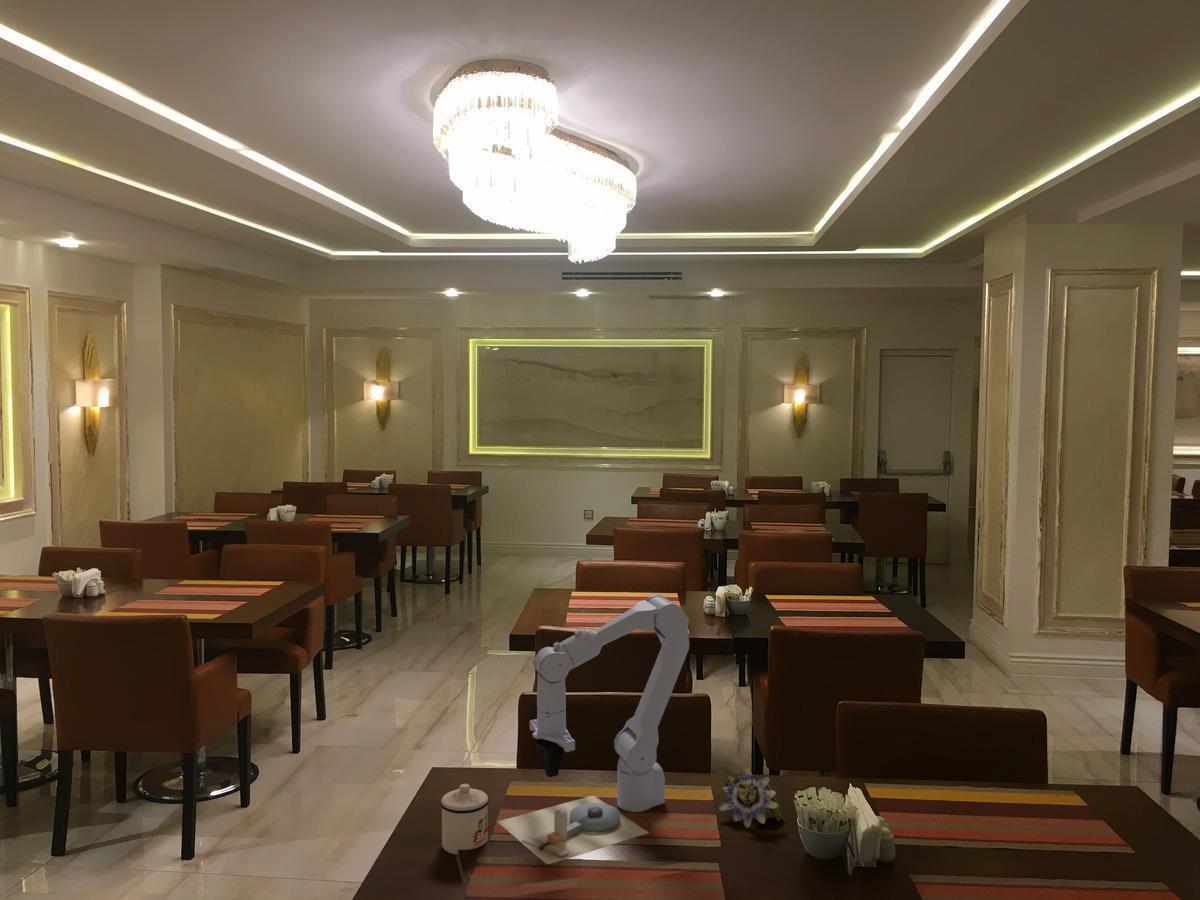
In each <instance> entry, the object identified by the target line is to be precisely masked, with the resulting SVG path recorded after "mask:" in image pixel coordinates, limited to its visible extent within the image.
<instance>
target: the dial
mask: <svg viewBox="0 0 1200 900" xmlns="http://www.w3.org/2000/svg"><path fill="white" fill-rule="evenodd" d="M620 813H621V812H620V810H619V809H618V808H617V807H616V806H613V805H611V804H607V803H606V804H602V803H588V804H583V805H580V806H577V807H575V808H574V809H572V810H571V812H570V823H571V824H570V825H568V826H567V811H565V810H557V811H555V812H554V832H553V833H551V834H549V835H547V842H550V843H551V844H554V845H555V844H557V843H559V842H561V841H564V840H566V839H567V837H569V836H571V835H573V834H575V833H577V832H579V831H581V830H583V831H590V832H601V831H607V830H610V829H613V828H615V827H616V826H618V825H619V823H620Z"/></svg>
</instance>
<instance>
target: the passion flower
mask: <svg viewBox="0 0 1200 900" xmlns="http://www.w3.org/2000/svg"><path fill="white" fill-rule="evenodd" d="M753 778H754V775H753V774H752V771H751V770H750V769H749V768H745V769H744V771H743V772H742V774H741V775H739V776H737V777H732V776H727V779H726V778H723V779H722V780H723V783H724V784H725V786H724V787H722V788H721V790H722V792H724V793H725V794H726V795H727V796H726V798H725V800H724V801H723V802H721V803H720V804H719V805H718V806H717V810H718V811H720V812H725V811H726V812H727V811H728V810H730V811H731V812H732V821H733V822H740V823H741V824H742V825H743V826H744V827H745V828H746V829H747V830H748V829H750V827H751V825H752V821H753V820H754V819H755V820H756V821H757V822H758V823H760V824H762V825H764V824H765V823H766V812H767V811H766V810H767V809H769V810H770V812H771V814H773V816H774V818H775V821H776V822H777V821H778V822H780V821H781V819H782V818H781V817H782V815H781V814H783V809H782V808H781V805H780V803H779V801H778V799H777V798H776V797H775V796H776V795H777V794H776V791H775V790H773V789H771V788H770V786H769V782H770V777H768V776H766V777H762V778H760V779H756V778H754V779H753Z"/></svg>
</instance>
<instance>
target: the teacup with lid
mask: <svg viewBox="0 0 1200 900" xmlns="http://www.w3.org/2000/svg"><path fill="white" fill-rule="evenodd" d="M489 803H490V799H489V797H488V794H487V793H485V792H484V791H483V790H481V789H480V790H479V789H475V788H471V786H470V785H469V784H468V783H462V784H460V785H459V787H458V788H457V789H454V790H451V791H449V792H447V793H445V794H444V795H443V796H442V798H441V800H440V803H439V804H440V807H441V840H442V841H441V846H442V849H443V850H444V851H445V852H447V853H449V854H452V855H456V856H459V855H460V854H459V851H467V850H474V849H477V848H479V847H481V846H483V845H485V844H486V843H487V842H488V839H489V833H488V832H489V831H488V830H489V822H488V819H489V816H488V814H489V813H488V812H489V810H488V809H489V807H488V806H489Z"/></svg>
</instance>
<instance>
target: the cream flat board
mask: <svg viewBox="0 0 1200 900" xmlns="http://www.w3.org/2000/svg"><path fill="white" fill-rule="evenodd" d="M588 803H602V804H607V803H606V802H605V801H603V800H601V799H600V798H598V797H597V796H596V795H590V796H586V797H583V798H578V799H574V800H572V801H568V802H567V801H566V802H564V803H561V804H557V805H553V806H548V807H546V808H541V809H538V810H534V811H531V812H528V813H524V814H520V815H516V816H512V817H510V818H505V819H501V820H497V821H496V822H497V823H498V824H499V825H500V826H501V827H503V828H504V830H506V831H507V832H508V833H509V834H510V835H512V837H514V838H515V839H516V840H517V841H519V842H520V843H521V844H522V845H523V846H525V848H527V849H528V850H529V851H531V853H533V854H534V855H535V856H536V857H537V858H539V860H541V861H542V862H543V863H544V864H546V865H551V864H554V863H557V862H560V861H563V860H567V859H569V858H573V857H574V858H575V857H577V856H579V855H584V854H586V853H589V852H592V851H596V850H599V849H603V848H605V847H609V846H612V845H615V844H618V843H621V842H625V841H628V840H631V839H635V838H637V837H641V836H644V835H647V834H650V832H649V831H648V830H646V829H644V828H643V827H641V826H640V825H638V824H637V823H636V822H634V821H633V820H631V819H629V818H628V817H627V816H625V815H623V814H622V813H621V812H620V823H619V825H618V826H616V827H615V828H613V829H610V830H607V831H601V832H590V831H583V830H581V831H579V832H577V833H575V834H573V835H571V836H569V837H567V839H566V840H564V841H561V842H559V843H557V844H555V845H554V844H551V843H550V842H547V835H549V834H551V833H553V832H554V812H555V811H557V810H565V811H567V826H568V825H570V824H571V823H570V812H571V810H572V809H574V808H575V807H577V806H580V805H583V804H588Z"/></svg>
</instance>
